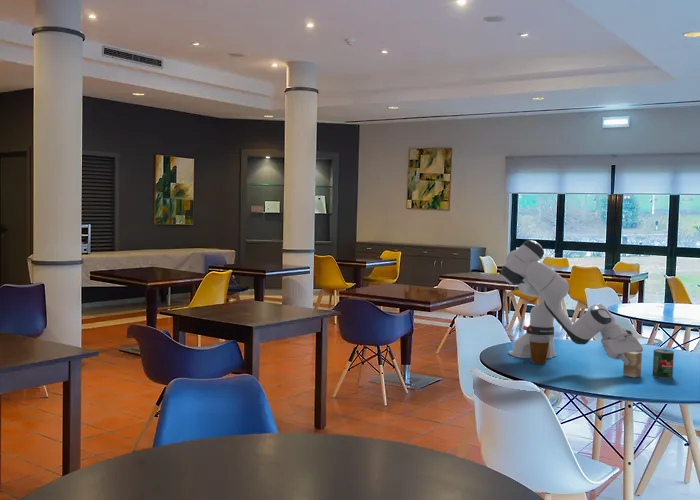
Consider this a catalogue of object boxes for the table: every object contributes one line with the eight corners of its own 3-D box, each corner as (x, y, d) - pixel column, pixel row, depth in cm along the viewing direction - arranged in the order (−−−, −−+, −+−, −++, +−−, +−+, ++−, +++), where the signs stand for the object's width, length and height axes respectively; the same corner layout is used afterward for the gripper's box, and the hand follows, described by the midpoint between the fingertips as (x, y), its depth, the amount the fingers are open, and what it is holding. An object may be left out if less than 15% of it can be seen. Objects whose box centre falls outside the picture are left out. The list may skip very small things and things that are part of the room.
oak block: (633, 377, 290) (634, 353, 290) (623, 375, 294) (624, 351, 294) (640, 376, 293) (641, 352, 292) (630, 373, 297) (631, 350, 296)
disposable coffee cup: (550, 365, 312) (551, 338, 312) (528, 363, 314) (529, 337, 314) (548, 361, 322) (549, 335, 321) (527, 359, 323) (528, 334, 323)
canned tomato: (666, 379, 289) (667, 353, 289) (648, 375, 296) (649, 350, 295) (676, 377, 294) (677, 351, 294) (658, 373, 300) (659, 348, 300)
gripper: (604, 334, 293) (623, 361, 285) (634, 331, 304) (653, 357, 296) (594, 342, 297) (613, 369, 289) (624, 339, 308) (643, 365, 300)
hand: (633, 363), depth 293 cm, fingers closed on oak block, 5 cm apart
